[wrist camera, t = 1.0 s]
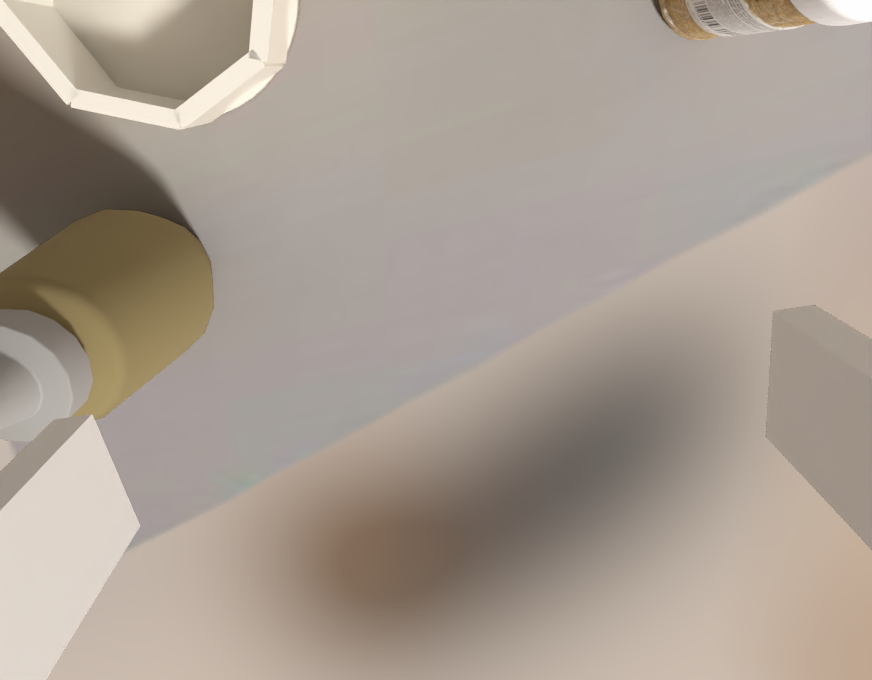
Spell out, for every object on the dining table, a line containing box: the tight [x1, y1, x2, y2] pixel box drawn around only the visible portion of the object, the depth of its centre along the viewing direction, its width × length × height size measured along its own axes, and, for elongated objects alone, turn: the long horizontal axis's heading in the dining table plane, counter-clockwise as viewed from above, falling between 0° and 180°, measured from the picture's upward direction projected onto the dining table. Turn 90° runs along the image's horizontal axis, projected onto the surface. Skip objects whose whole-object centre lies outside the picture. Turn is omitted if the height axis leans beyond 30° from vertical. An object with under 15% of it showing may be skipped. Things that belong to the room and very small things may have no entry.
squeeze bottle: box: [0, 209, 214, 441], centre depth 27 cm, size 8×8×18 cm
